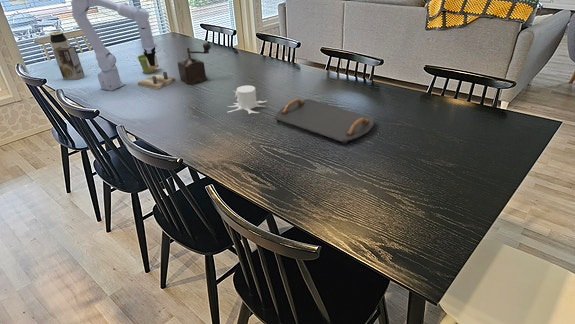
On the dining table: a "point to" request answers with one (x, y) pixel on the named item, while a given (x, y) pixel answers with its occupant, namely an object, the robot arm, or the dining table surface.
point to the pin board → (156, 86)
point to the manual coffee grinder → (193, 68)
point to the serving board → (325, 119)
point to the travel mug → (58, 39)
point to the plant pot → (145, 64)
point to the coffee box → (68, 62)
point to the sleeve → (155, 63)
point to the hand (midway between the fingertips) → (152, 64)
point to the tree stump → (246, 99)
